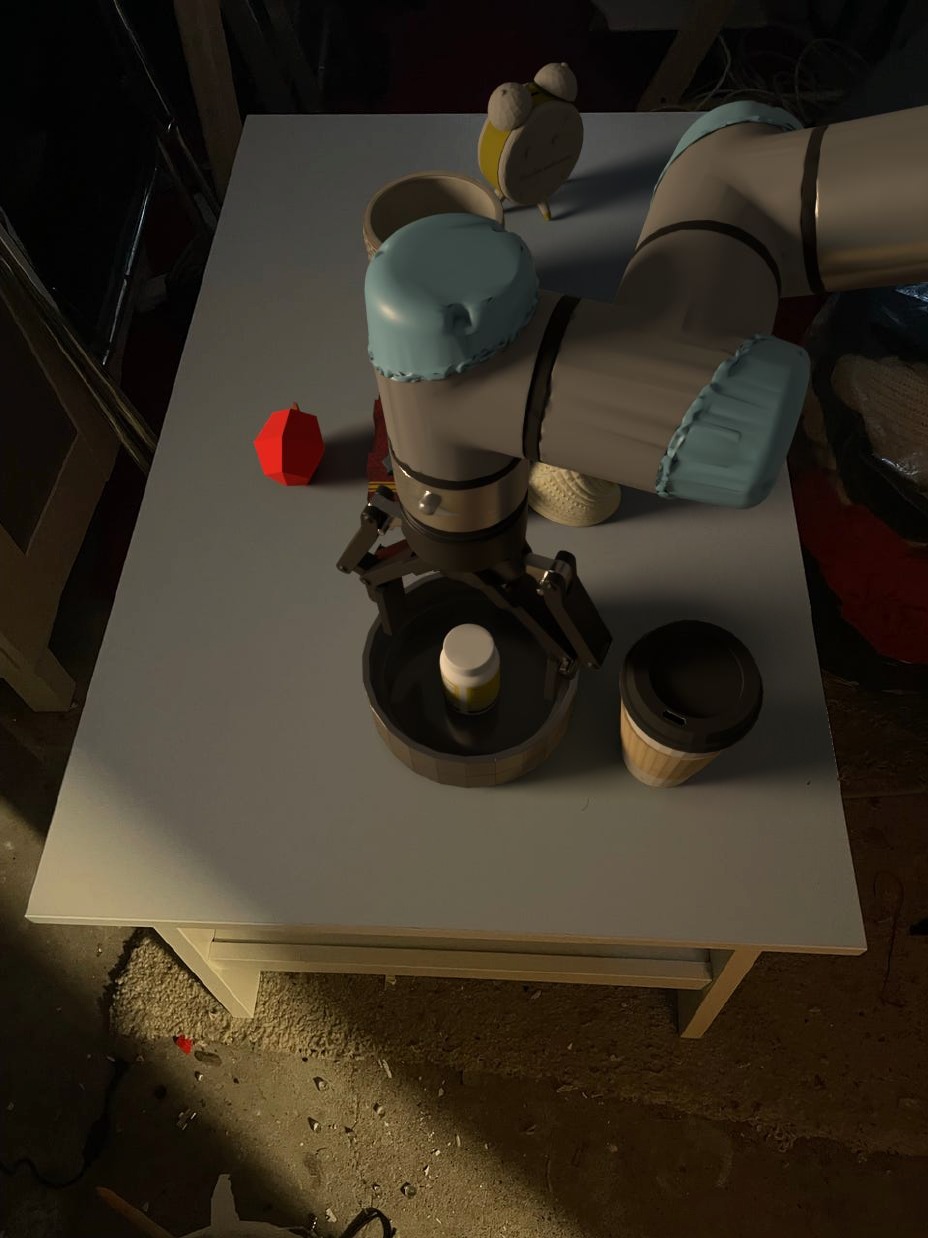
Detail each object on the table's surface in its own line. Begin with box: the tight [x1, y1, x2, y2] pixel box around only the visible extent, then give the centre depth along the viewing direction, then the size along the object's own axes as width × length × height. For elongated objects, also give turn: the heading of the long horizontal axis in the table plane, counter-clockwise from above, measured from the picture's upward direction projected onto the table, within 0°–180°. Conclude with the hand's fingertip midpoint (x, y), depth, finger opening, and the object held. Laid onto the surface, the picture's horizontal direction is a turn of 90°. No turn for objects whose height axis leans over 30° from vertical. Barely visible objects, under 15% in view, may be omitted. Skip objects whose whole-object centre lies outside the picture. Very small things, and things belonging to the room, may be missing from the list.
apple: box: [253, 401, 326, 487], centre depth 86 cm, size 7×7×8 cm
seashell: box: [528, 461, 622, 528], centre depth 83 cm, size 8×8×8 cm
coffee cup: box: [618, 619, 764, 789], centre depth 67 cm, size 10×10×15 cm
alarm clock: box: [477, 61, 585, 221], centre depth 99 cm, size 12×7×15 cm, turn 124°
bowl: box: [361, 571, 581, 789], centre depth 73 cm, size 17×17×6 cm
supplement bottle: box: [440, 624, 500, 715], centre depth 72 cm, size 5×5×8 cm
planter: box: [362, 170, 506, 263], centre depth 92 cm, size 14×14×13 cm
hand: (474, 652), depth 69 cm, fingers open, 13 cm apart
